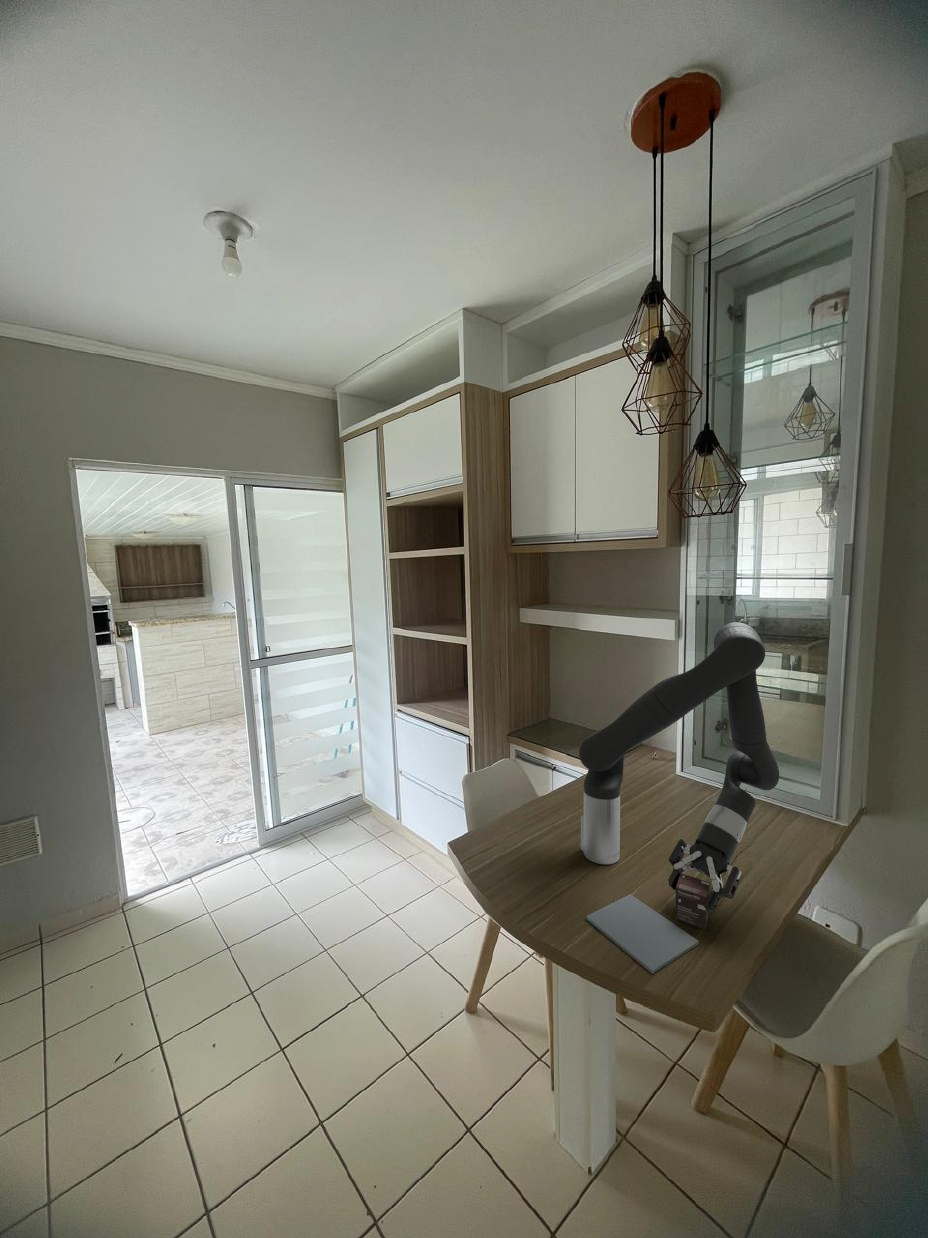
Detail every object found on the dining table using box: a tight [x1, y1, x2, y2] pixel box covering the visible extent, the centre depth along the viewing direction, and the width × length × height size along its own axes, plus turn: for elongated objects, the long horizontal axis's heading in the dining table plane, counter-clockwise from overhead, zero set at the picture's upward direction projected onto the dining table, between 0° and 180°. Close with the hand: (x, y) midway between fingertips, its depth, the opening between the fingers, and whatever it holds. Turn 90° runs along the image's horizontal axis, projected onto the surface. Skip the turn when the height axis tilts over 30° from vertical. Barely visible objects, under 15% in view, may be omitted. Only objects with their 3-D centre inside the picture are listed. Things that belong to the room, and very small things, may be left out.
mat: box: [585, 893, 700, 974], centre depth 99 cm, size 17×14×1 cm
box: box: [674, 873, 711, 930], centre depth 103 cm, size 6×6×7 cm
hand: (688, 898), depth 102 cm, fingers closed on box, 8 cm apart
